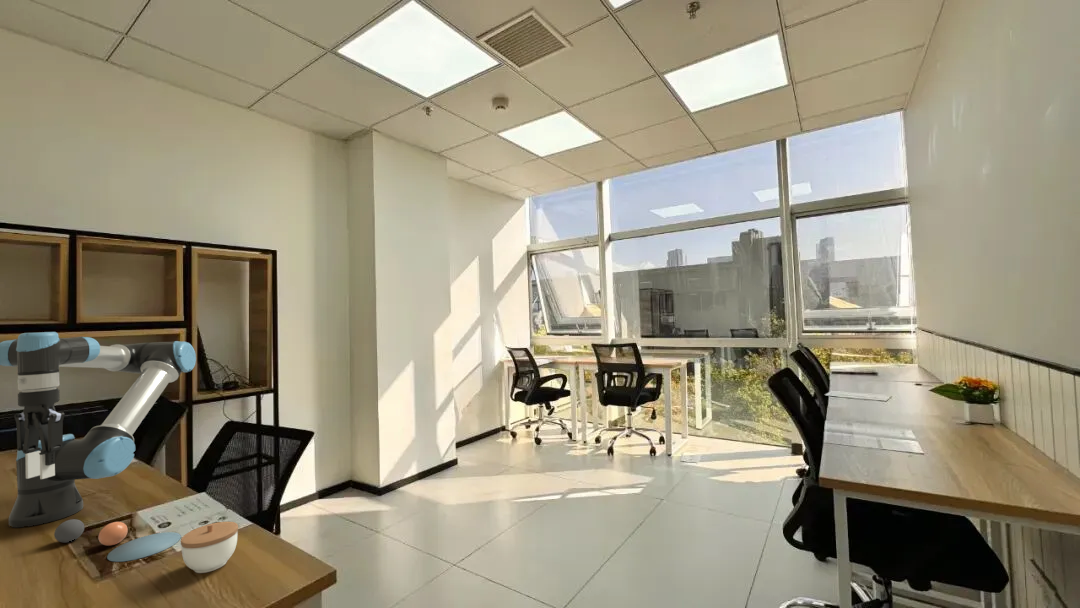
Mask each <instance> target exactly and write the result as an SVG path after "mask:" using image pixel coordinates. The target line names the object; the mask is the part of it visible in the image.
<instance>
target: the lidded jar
mask: <svg viewBox="0 0 1080 608" xmlns="http://www.w3.org/2000/svg"><path fill="white" fill-rule="evenodd" d="M238 531H239V524H238V523H236V522H235V521H218V522H213V523H209V524H205V525H203V526H202V525H201V526H200V527H197V528H195V529H192V530H190V531H189V532H187V533H186V534H184V535H183V536H181V538H180V547H181V555H182V559H183V562H184V564H185V565H186V567H187V568H188V569H191V570H193V571H194V573H196V574H206V573H211V572H212V571H216V570H218V569H220V568H222V567H224V566H225V565H226V564H227V563H228V560H229V559H230V558H231V557H232V555H233V554H234V553H235V550H236V547H237V544H238V536H239V535H238V533H239V532H238Z"/></svg>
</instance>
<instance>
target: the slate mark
mask: <svg viewBox="0 0 1080 608" xmlns="http://www.w3.org/2000/svg"><path fill="white" fill-rule="evenodd" d="M181 539H182V536H181V534H180V533H178V532H173V531H171V532H169V531H167V532H166V531H165V532H157V533H152V534H148V535H144V536H141V537H137V538H134V539H132V540H128V541H127V542H125V543H123V544H121V545H118V546H117V547H115V548H113V549H112V550H111V551H110V552H109V553H108V554H107V555H106V556H107V557H106V558H107V560H108V561H110V562H117V563H118V562H119V563H122V562H130V561H134V560H135V561H136V560H139V559H144V558H146V557H151V556H153V555H156V554H158V553H161V552H163V551H165V550H167V549H169V548H171V547H172V546H174V545H176V544H177V543H178V542H180V541H181Z"/></svg>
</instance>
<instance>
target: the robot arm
mask: <svg viewBox="0 0 1080 608" xmlns="http://www.w3.org/2000/svg"><path fill="white" fill-rule="evenodd" d="M196 356H197V355H196V351H195V349H194V347H193V345H192V344H191V343H190V342H187V341H182V340H181V341H178V340H175V341H158V342H154V341H153V342H141V343H130V344H129V343H128V344H119V343H116V344H111V345H109V346H107V345H101V344H100V343H99V342H98V341H97V339H95V338H92V337H89V336H88V337H87V336H85V337H84V336H77V337H59V333H58V332H56V331H44V332H43V331H42V332H40V331H39V332H24V333H20V334H19V335H18V336H17V338H16V339H12V340H11V339H9V340H3V341H1V342H0V366H2V367H17V380H16V383H17V390H18V391H20V392H18V393H17V405H18V407H22V408H23V411H22V412H21V413H15V414H14V417H13V418H14V420H15V422H16V424H15V425H16V446H17V447H16V448H17V453H16V459H15V462H16V463H15V464H16V481H17V482H16V484H17V485H16V486H17V487H16V488H17V497H16V499H15V502H14V504H13V507H12V508H11V511H10V513H9V516H8V526H9V525H10V526H12V527H11V528H25V527H24V526H28V527H32V526H33V525H34V526H39V525H43V523H44V524H47V523H51V522H55V521H59V520H61V519H64V518H67V517H70V516H72V515H74V514H77V513H78V512H80V511H82V509H83V508H84V499H83V498H82V495H81V494H80V492H79V490H78V488H77V486H76V480H89V479H96V480H97V479H98V480H99V479H104V478H109V477H114V476H116V475H119V474H121V473H122V472H123V471H125V469H127V468H128V467H129V465H131V463H132V461H133V460H134V457H135V453H134V452H135V451H136V444H135V438H134V436H133V435H134V433H135V432H136V430H137V429H138V427H139V426H140V425H141V423H142V421H143V420H144V419H145V418H146V416H147V415H148V413H149V411H150V410H151V409H152V408H153V406H154V405H155V403H156V401H157V400H158V399H159V398H160V396H161V395H162V393H163V392H164V390H165V389H166V388H167V386H168V385H169V383H174V382H175V381H177V380H178V379H179V377H180V376H181V374H182V373H189V372H191V371H192V370H194V368H195V366H196V362H197V357H196ZM61 367H63V368H94V369H99V368H100V369H105V370H107V371H110V372H121V373H122V372H123V373H129V374H138V375H139V374H140V375H139V376H138V377H137V378H136V380H135V381H134V382H133V383H132V385H131V386H130V387H129V388H128V390H127V391H126V392H125V394H124V395H123V396H122V398H121V399H120V400H119V402H117V404H116V405H115V407H114V408H113V409H112V411H110V413H109V414H108V415H107V417H106V418H105V420H104V421H103V422H102V423H101V424H100V425H96V426H93V427H92V428H91V429H90V430H88V431H87V434H86V435H85V436H84V437H83V438H81V439H75V438H76V437H75V435H74V434H73V433H67V434H63V432H64V431H63V427H64V426H63V425H64V422H63V421H64V418H65V413H64V411H63V412H57V411H56V406H55V404H56V403H58V402H59V401H60V400H61V399H60V389H59V388H57V387H59V386H60V384H61V383H60V368H61ZM10 526H9V527H10Z"/></svg>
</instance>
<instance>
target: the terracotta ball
mask: <svg viewBox="0 0 1080 608" xmlns="http://www.w3.org/2000/svg"><path fill="white" fill-rule="evenodd" d="M128 530H129V529H128V526H127V524H126V523H124V522H121V521H114V522H110V523H108V524H105V526H104V527H102V528H101V530H100V531H99V534H98V537H97V539H98V541H99V543H100V544H101V545H103V546H108V547H109V546H114V545H117V544H119V543H121V542H122V541H123V540H124V539H125V538H126V536H127V535H128Z"/></svg>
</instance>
